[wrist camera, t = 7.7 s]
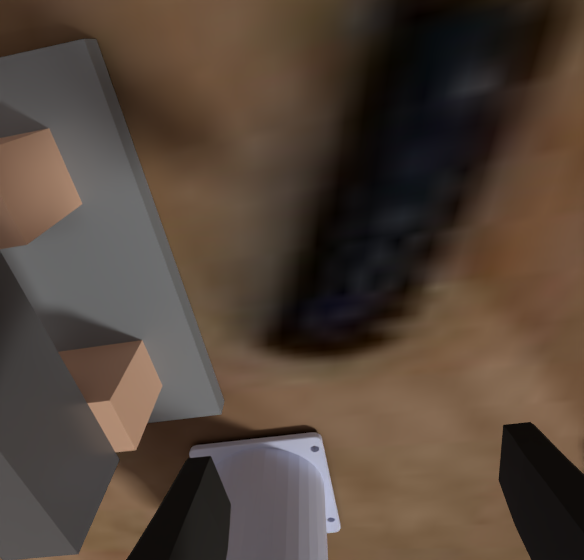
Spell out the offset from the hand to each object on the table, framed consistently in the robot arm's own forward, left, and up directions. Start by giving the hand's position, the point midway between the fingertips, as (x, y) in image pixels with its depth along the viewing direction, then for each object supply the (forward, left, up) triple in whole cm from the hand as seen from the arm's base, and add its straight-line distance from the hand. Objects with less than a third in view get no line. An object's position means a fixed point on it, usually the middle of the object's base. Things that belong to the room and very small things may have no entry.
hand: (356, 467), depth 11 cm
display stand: (+2, +12, -10) cm, 16 cm away
